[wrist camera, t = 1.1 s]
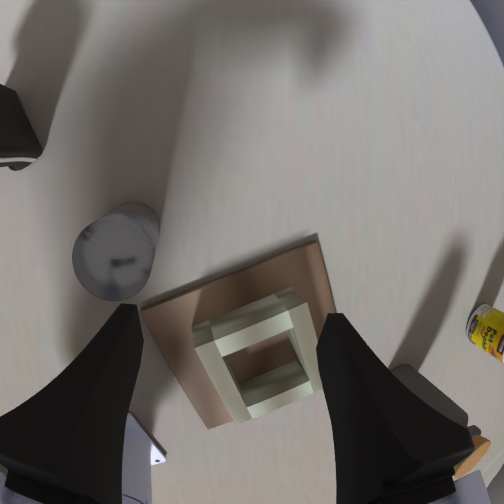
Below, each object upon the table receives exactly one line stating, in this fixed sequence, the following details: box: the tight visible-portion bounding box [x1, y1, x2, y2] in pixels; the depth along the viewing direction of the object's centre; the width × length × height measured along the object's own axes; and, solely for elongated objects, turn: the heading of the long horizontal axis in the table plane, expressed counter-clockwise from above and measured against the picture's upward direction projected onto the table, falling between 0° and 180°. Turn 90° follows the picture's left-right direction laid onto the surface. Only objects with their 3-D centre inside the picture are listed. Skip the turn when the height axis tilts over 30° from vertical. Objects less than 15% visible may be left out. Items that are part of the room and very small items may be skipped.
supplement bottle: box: [466, 304, 504, 363], centre depth 30 cm, size 6×6×10 cm
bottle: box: [391, 365, 491, 478], centre depth 26 cm, size 6×6×15 cm
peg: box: [72, 202, 160, 301], centre depth 18 cm, size 4×4×9 cm
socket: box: [141, 241, 335, 429], centre depth 25 cm, size 15×14×4 cm
